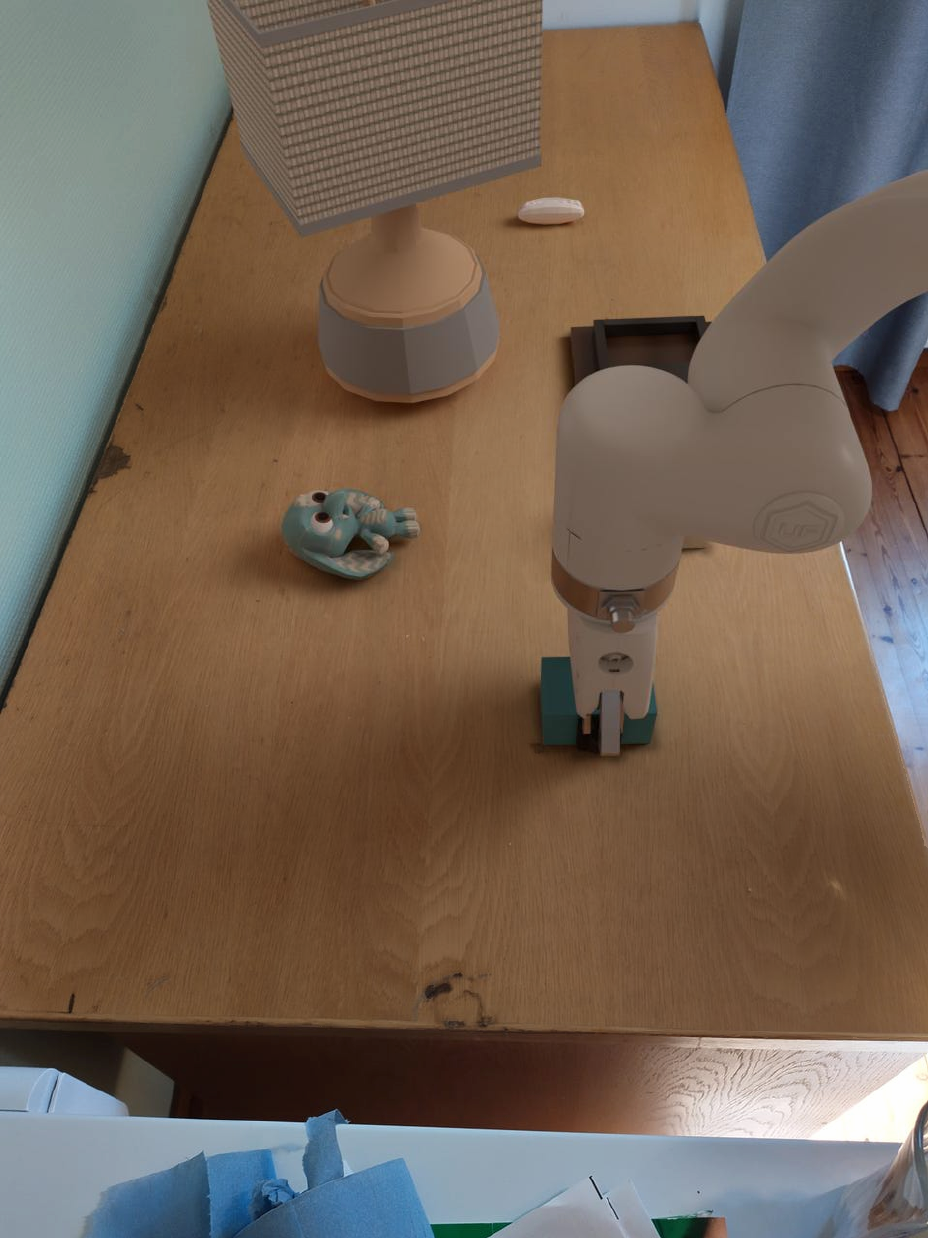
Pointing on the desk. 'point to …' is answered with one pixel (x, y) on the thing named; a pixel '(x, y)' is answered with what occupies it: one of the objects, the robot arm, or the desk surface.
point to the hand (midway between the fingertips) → (594, 712)
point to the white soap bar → (551, 211)
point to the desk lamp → (388, 163)
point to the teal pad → (563, 713)
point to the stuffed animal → (344, 531)
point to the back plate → (637, 344)
